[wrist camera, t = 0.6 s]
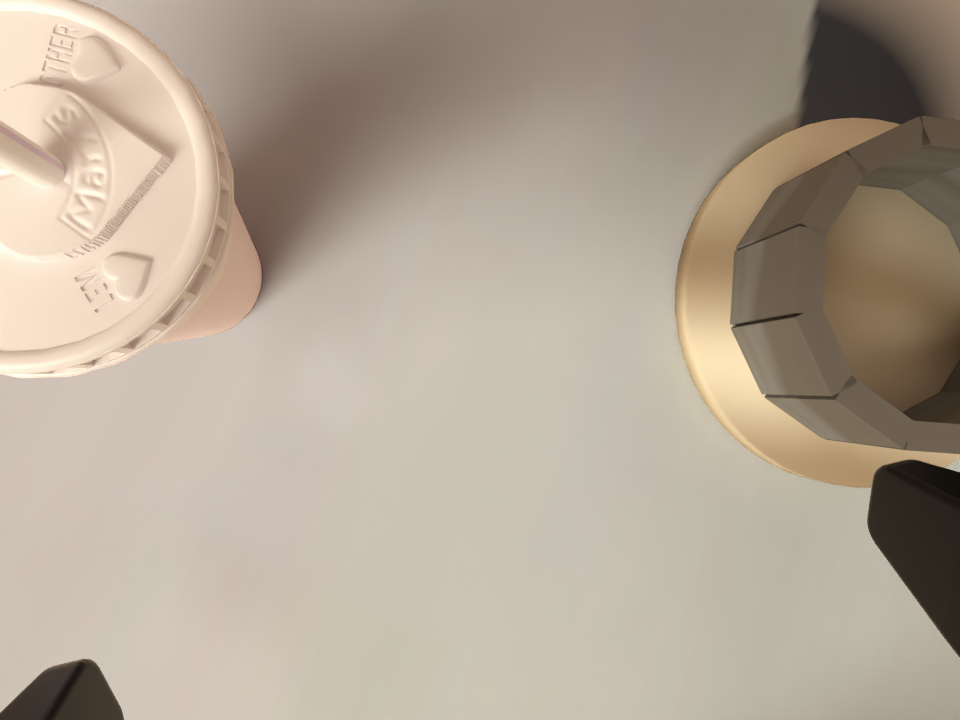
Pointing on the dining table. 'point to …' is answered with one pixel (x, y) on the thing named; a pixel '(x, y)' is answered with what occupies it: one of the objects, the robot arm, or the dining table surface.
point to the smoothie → (108, 197)
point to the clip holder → (831, 298)
